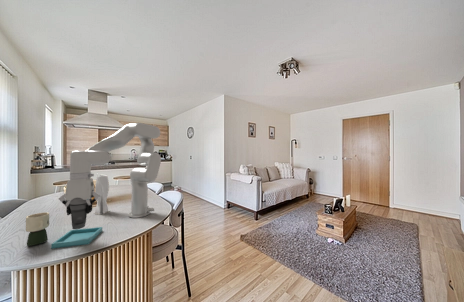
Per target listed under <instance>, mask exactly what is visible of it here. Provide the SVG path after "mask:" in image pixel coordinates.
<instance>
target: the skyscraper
mask: <svg viewBox="0 0 464 302" xmlns="http://www.w3.org/2000/svg"><path fill="white" fill-rule="evenodd" d="M96 175H97V176H96V179H95V180H96V181H95V185H94V190H95V193H97V194H98V195H100V197H99V198H98V199H97V200H96V207H95V212H94V213H93V214H95V216H97V215H98V216H104V215H105V213H106V214H108V213H109V212H111V210H109V206H108V203H107V199H108V195H109V190H110V186H109V185H110V184H109V178H108V174H106V175H105V174H104V173H103V174H99V172H97V173H96Z"/></svg>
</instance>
